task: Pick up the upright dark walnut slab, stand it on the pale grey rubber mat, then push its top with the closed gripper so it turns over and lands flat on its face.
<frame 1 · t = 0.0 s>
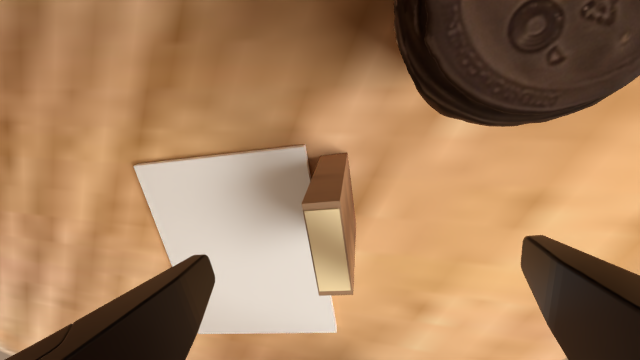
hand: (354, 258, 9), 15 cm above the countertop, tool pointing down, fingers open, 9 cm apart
coffee cup: (446, 15, 19), on the countertop
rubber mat: (244, 251, 28), on the countertop
walnut slab: (339, 191, 24), on the countertop
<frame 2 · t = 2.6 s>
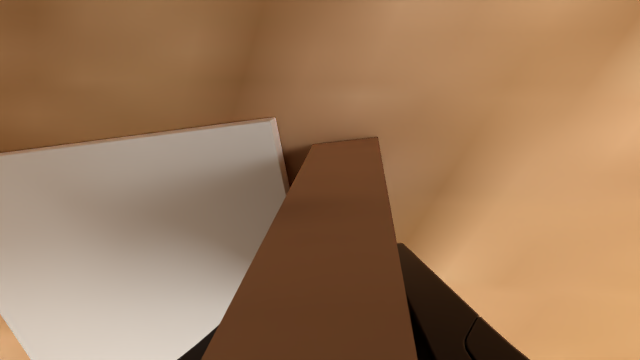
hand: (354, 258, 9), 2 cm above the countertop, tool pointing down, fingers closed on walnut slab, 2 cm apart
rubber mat: (165, 336, 14), on the countertop
walnut slab: (355, 225, 11), on the countertop, touching gripper
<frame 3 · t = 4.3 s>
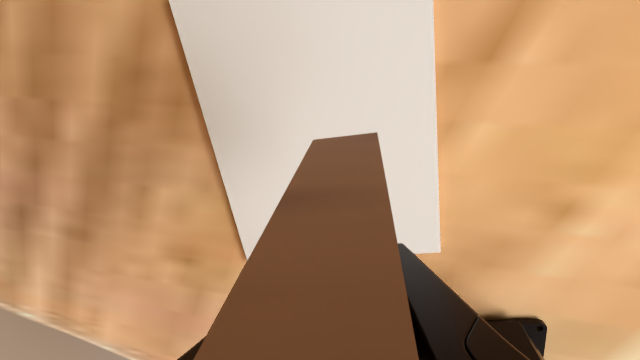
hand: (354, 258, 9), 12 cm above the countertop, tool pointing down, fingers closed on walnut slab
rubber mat: (319, 135, 20), on the countertop
walnut slab: (355, 220, 11), point 10 cm above the countertop, touching gripper
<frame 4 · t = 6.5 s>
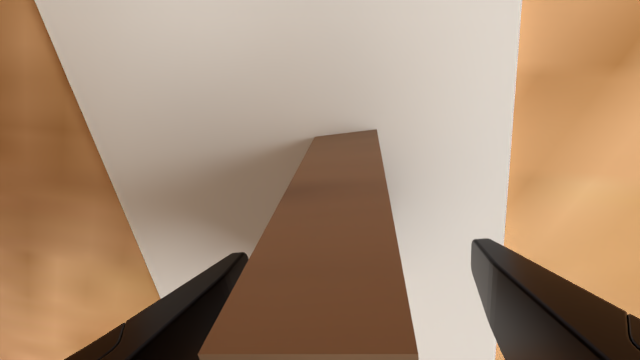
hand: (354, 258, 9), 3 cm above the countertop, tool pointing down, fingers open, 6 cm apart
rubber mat: (299, 189, 12), on the countertop
walnut slab: (355, 215, 11), point 1 cm above the countertop, touching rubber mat
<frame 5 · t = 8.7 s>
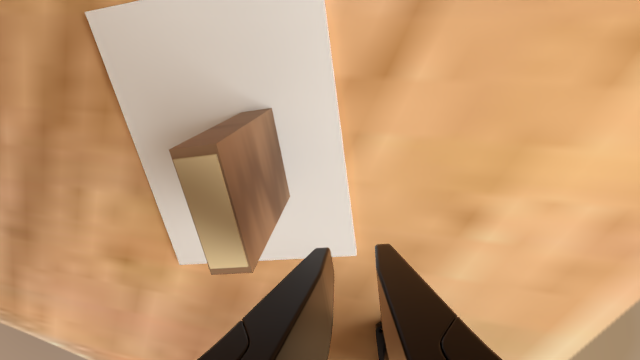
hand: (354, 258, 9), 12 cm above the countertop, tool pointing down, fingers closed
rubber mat: (237, 143, 21), on the countertop
walnut slab: (266, 156, 20), point 1 cm above the countertop, touching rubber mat
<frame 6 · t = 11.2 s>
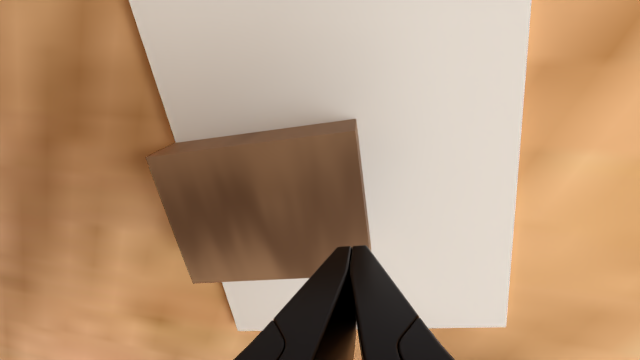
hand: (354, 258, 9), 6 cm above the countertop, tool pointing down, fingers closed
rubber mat: (340, 165, 14), on the countertop
walnut slab: (364, 197, 13), point 2 cm above the countertop, tilted 90°, touching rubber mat
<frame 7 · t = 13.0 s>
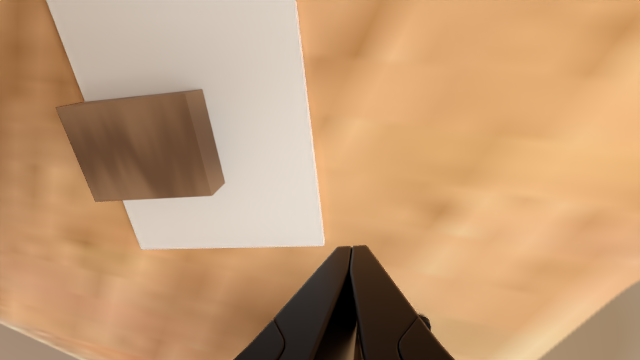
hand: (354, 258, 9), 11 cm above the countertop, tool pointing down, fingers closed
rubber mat: (201, 123, 20), on the countertop
walnut slab: (207, 143, 19), point 2 cm above the countertop, tilted 90°, touching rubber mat
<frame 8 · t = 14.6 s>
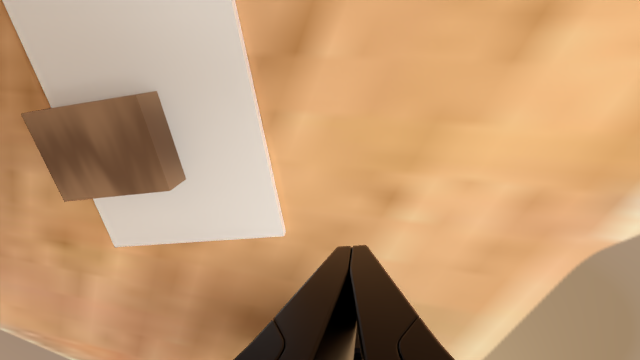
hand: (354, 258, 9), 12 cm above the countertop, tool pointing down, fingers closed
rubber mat: (160, 123, 21), on the countertop
walnut slab: (163, 141, 20), point 2 cm above the countertop, tilted 90°, touching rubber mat
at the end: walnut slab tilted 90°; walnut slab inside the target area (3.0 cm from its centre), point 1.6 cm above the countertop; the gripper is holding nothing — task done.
